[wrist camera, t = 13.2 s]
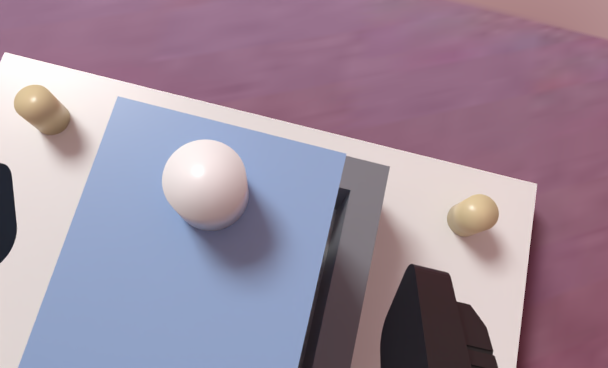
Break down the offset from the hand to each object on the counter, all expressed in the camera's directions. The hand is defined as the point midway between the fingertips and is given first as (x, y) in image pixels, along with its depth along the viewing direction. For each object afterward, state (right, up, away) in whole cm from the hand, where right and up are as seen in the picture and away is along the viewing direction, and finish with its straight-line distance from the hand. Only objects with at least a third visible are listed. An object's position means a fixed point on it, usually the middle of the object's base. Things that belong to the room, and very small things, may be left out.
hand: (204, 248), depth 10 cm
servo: (0, -2, +7) cm, 7 cm away
